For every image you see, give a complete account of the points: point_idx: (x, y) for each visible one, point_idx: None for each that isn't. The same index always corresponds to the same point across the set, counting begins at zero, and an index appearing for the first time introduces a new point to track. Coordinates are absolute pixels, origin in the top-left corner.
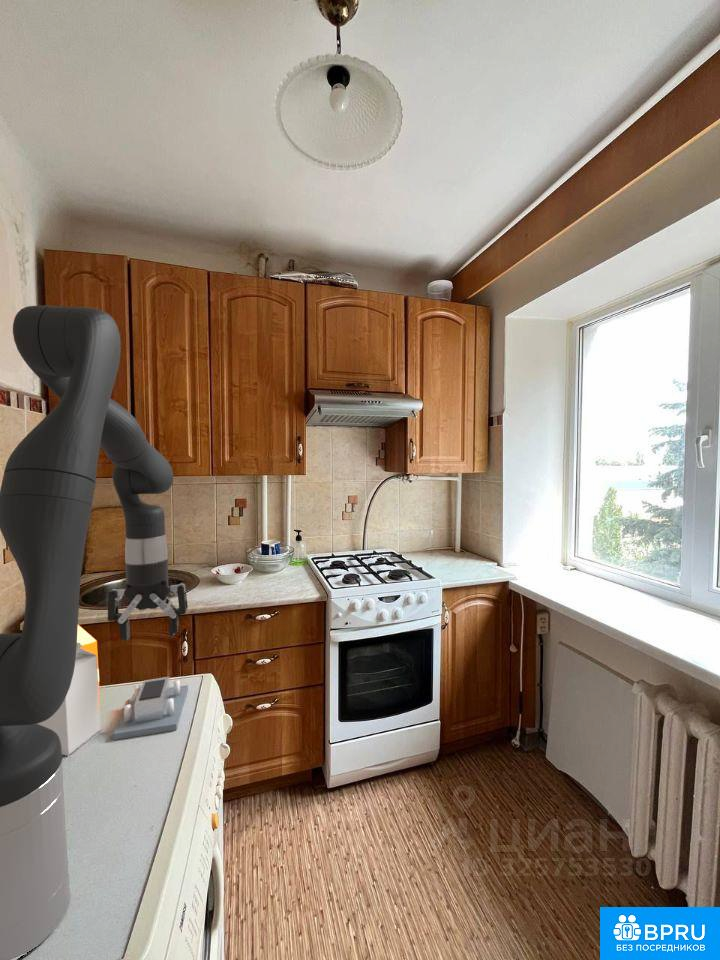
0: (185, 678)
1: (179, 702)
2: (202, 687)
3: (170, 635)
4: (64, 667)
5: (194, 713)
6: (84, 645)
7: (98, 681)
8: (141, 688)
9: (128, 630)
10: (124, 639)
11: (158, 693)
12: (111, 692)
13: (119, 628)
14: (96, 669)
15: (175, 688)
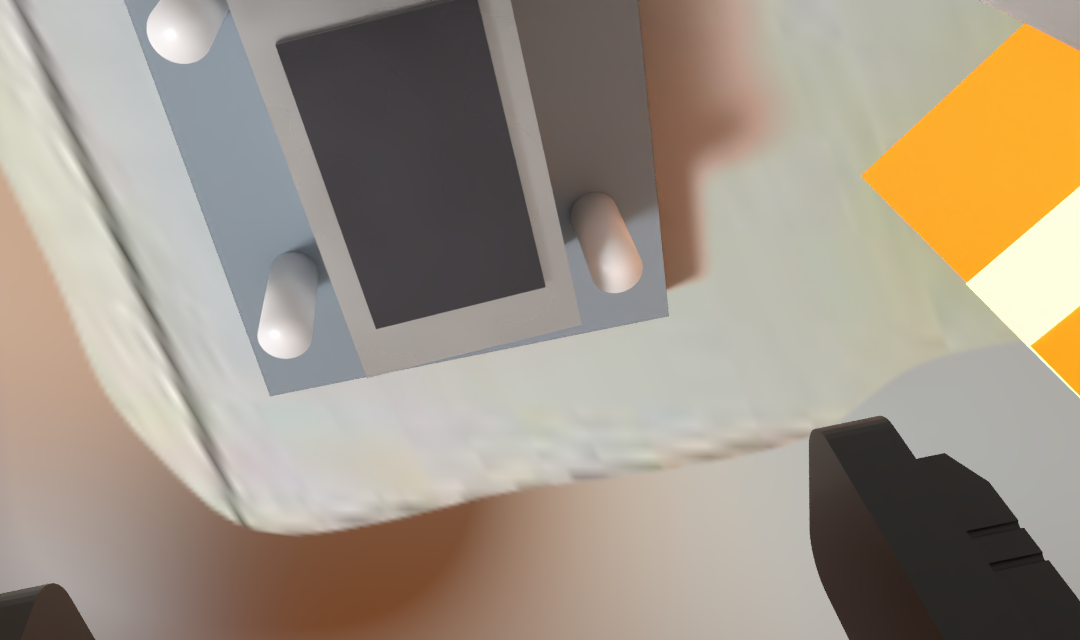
0: (371, 507)
1: (216, 167)
2: (173, 404)
3: (27, 593)
4: None
5: (45, 66)
6: None
7: (970, 281)
8: (544, 199)
9: (873, 626)
10: (866, 432)
11: (318, 89)
12: (848, 360)
13: (1077, 606)
14: (1071, 13)
15: (290, 288)
